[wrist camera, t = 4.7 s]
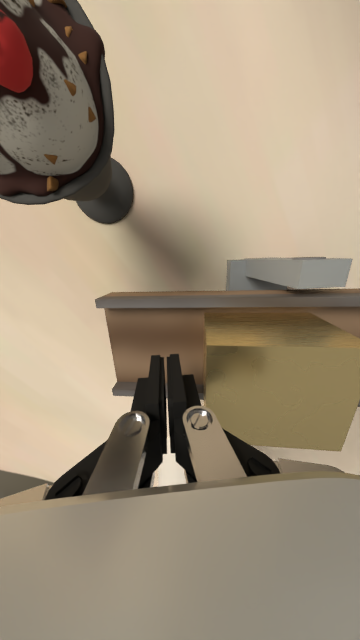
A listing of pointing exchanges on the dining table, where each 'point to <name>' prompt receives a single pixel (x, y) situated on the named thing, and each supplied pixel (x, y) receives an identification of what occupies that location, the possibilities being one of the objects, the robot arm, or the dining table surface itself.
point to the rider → (281, 378)
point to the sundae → (57, 111)
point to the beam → (202, 324)
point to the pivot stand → (286, 273)
